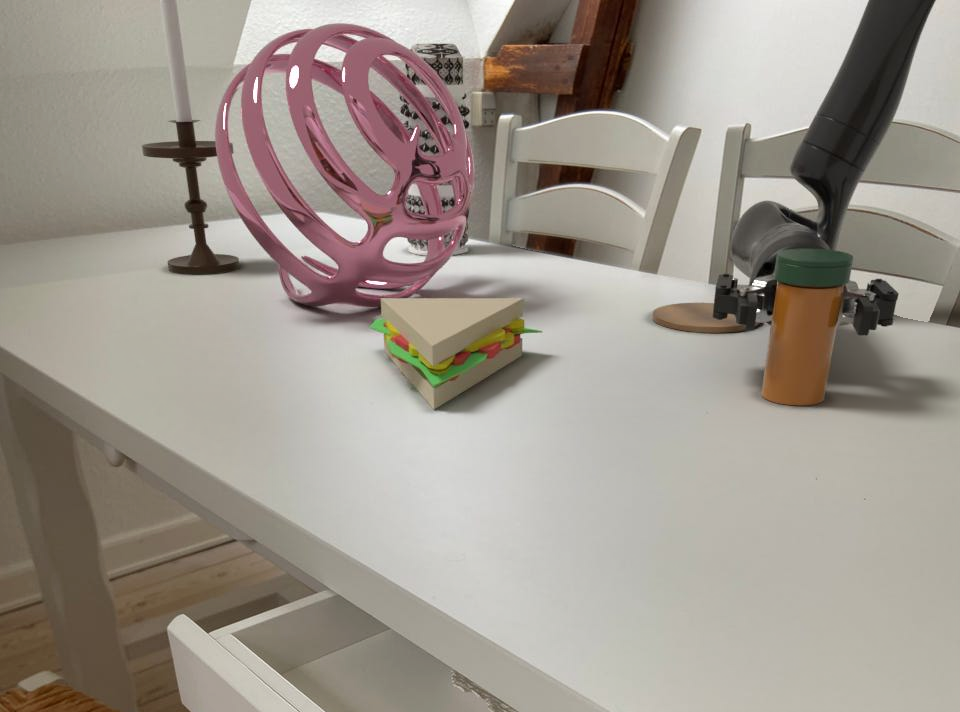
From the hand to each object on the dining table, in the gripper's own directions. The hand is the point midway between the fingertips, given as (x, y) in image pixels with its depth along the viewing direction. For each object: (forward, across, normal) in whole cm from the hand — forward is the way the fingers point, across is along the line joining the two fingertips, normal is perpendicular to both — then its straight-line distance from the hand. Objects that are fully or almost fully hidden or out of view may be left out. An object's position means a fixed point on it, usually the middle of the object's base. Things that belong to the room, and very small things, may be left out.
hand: (808, 319), depth 77 cm
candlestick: (-45, -71, +7) cm, 85 cm away
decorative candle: (-63, -44, +7) cm, 77 cm away
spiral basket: (-30, -45, +7) cm, 55 cm away
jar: (-2, 0, +7) cm, 7 cm away
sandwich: (-3, -30, +7) cm, 31 cm away
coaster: (-28, -7, +7) cm, 29 cm away
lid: (-2, 0, -4) cm, 5 cm away
